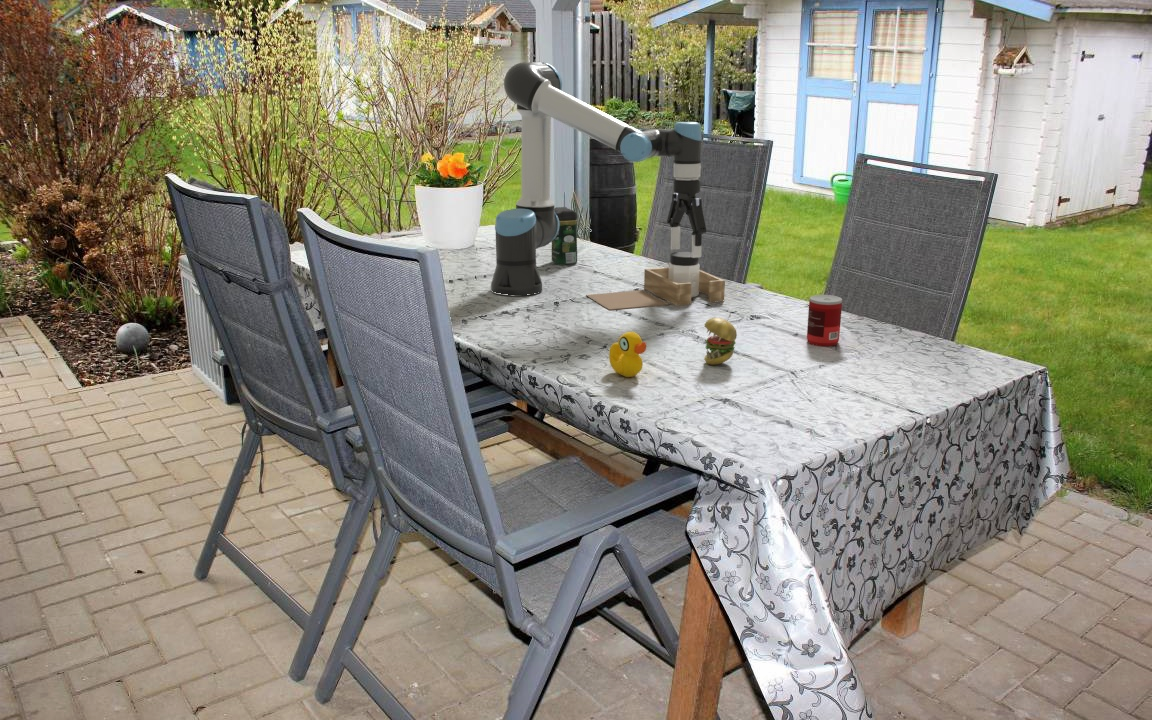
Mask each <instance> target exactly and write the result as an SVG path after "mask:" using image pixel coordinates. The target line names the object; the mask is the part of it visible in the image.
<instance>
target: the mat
mask: <svg viewBox="0 0 1152 720" xmlns="http://www.w3.org/2000/svg"><path fill="white" fill-rule="evenodd" d="M587 296H588V297H587ZM585 297H587V298H589V299H590V298H591V299H590V300H592V299H593V300H594V302H595V301H596V302H595V303H597V304H598V305H600V306H601V307H603V308H605V309H606V310H608V311H615V310H628V309H638V308H649V307H651V308H652V307H659V306H660V307H661V306H669V305H670V303H669V302H668V301H666V300H664V299H662V298H660V297H658V296H656V295H655V296H654V294H652V293H650V292H649V291H647V290H645V289H642V290H629V291H617V292H605V293H604V292H603V293H595V294H594V293H592V294H586V295H585ZM593 300H592V301H593Z"/></svg>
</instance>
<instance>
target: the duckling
mask: <svg viewBox="0 0 1152 720" xmlns="http://www.w3.org/2000/svg"><path fill="white" fill-rule="evenodd" d="M646 349H647V343H646V342H645V341H643V340H642V338H641V336H640V335H639V333H636V332H635V331H627V332H625V333H623V334H622V335H621V336H619V337H618V342H614V343H612V344H611V346H610V347H609V354H608V355H609V357H608V358H609V360H608V361H609V363H610V366H611V368H612V369H613V371H615V373H617V374H619V375H621V376H623V377H626V378H632V377H635V376H636V375H638V374H639V373H640V372H641V371H642V369H643V365H644V364H643V362H644V361H643V359H642V357H641V356H640V354H643V353H645V352H646Z"/></svg>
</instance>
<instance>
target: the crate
mask: <svg viewBox="0 0 1152 720" xmlns="http://www.w3.org/2000/svg"><path fill="white" fill-rule="evenodd" d="M668 274H669V266H668V267H667V266H666V267H655V268H645V269H644V281H643V283H644V285H643V286H644V287H643V290H644V291H646V292H648V293H650V294H652V295H655V296H656V297H658V298H660V299H662V300H663V301H665V302H667V303H669V304H672V305H674V306H676V307H678V306H686V305H688V306H689V305H692V297H691V284H692V283H679V284H678V283H676V282H674V281H672V280H670V279H668ZM725 287H726V280H725V279H724V278H723V279H722V278H721V277H717V276H715V275H714V274H710V273H709V272H706V271H704V270H702V269H699V292H700V293H702V294H704V293H705V294H704V295H706V294H707V295H706V296H708V295H709V296H708V300H707V301H709V302H708V303H710V302H711V303H716V302H715V301H722V302H724V301H725V293H726V292H725V290H726V288H725ZM723 300H724V301H723Z"/></svg>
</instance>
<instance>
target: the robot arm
mask: <svg viewBox="0 0 1152 720" xmlns="http://www.w3.org/2000/svg"><path fill="white" fill-rule="evenodd" d="M503 87H504V92H505V94H506V96H507V97H508V98H509V99H510V101H512V102H513V103H514V104H516V111H517V112H518V113H519V114H520V116H521V162H520V163H521V164H520V165H521V166H520V167H521V168H520V170H521V171H520V172H521V173H520V174H521V176H520V178H521V179H520V183H521V184H520V185H521V186H520V188H521V189H520V191H521V192H520V195H521V196H520V198H519V199H518V200H517V201H516V203H515V208H511V209H505V210H503V211H501V212H499V213H498V214H497V215H496V217H495V225H494V230H495V258H496V259H495V261H496V264H495V269H494V271H493V277H492V280H491V283H490V291H491V290H492V291H493V292H496V293H501V294H508V295H527V294H534V293H538V292H540V293H542V292H543V281H542V279H541V276H540V272H539V269H538V267H537V249H539V248H543V247H545V246H547V245H550V243H552V241H553V240H554V239H555V237H556V236H557V234H558V231H559V219H558V216H557V215H556V214H555V212H554V209H555V202H554V201H553V200H552V199H551V198H550V196H551V195H550V192H551V191H550V190H551V140H552V139H551V138H552V137H551V131H552V130H551V129H552V119H554V120H556V121H558V122H560V123H563V124H564V125H567V126H568V127H570V128H572V129H574V130H576V131H578V132H580V133H581V134H584V135H586V136H588V137H590V138H592V139H594V140H596V141H597V142H600V143H601V144H603V145H606V146H608V147H609V148H612V149H613V150H615V151H617V152H619V153H620V154H621V155H622V157H623V158H624V159H626V160H627V161H629V162H635V163H637V162H640V163H641V162H643V161H645V160H647V159H651V158H654V157H667V158H668V157H669V158H671V157H672V158H673V178H674V180H673V192H674V193H672V195H671V202H670V203H671V204H670V206H669V207H670V208H669V211H668V215H667V219H666V222H667V224H669V227H670V250H680V249H681V226H682V223H681V221H682V220H683V217H684V214H685V215H687V216H688V220H689V223H690V226H691V230H692V232H691V252H692V255H691V257H692V258H696V257H699V258H701V257H702V247H703V246H702V245H703V243H702V241H703V240H702V239H703V238H702V237H703V236H702V235H703V234H706V233H707V227H706V221H705V217H704V211H703V205H702V198H701V197H697V196H696V194H698V193H700V192H701V179H699V178H701V169H702V166H701V165H702V163H701V162H702V161H701V159H702V158H701V157H702V139H703V138H702V125H701V123H699V122H696V121H678V122H675V123H674V124H673V126H674V127H673V128H670V129H666V128H665V129H663V128H658V129H657V128H635V127H634V126H631V125H629V124H627V123H626V122H624V121H622V120H620V119H619V118H618V119H617V118H615V117H613V116H612V115H609V114H608V113H606V112H604V111H602V110H600V109H598V108H596V107H594V106H592V105H590V104H587V102H584V101H583V100H581V99H578V98H576V97H575V96H573V95H571V94H568V93H567V92H564V91H563V79H562V76H561V74H560V72H559V71H558V70H557V68H555V66H553V65H552V64H550V63H547V62H542V61H532V62H519V63H515V64H514V65H512V66H510V68H509V69H508V71H507V72H506V73H505V75H504V80H503ZM696 197H697V198H696ZM538 294H539V293H538ZM534 295H535V294H534Z"/></svg>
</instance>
